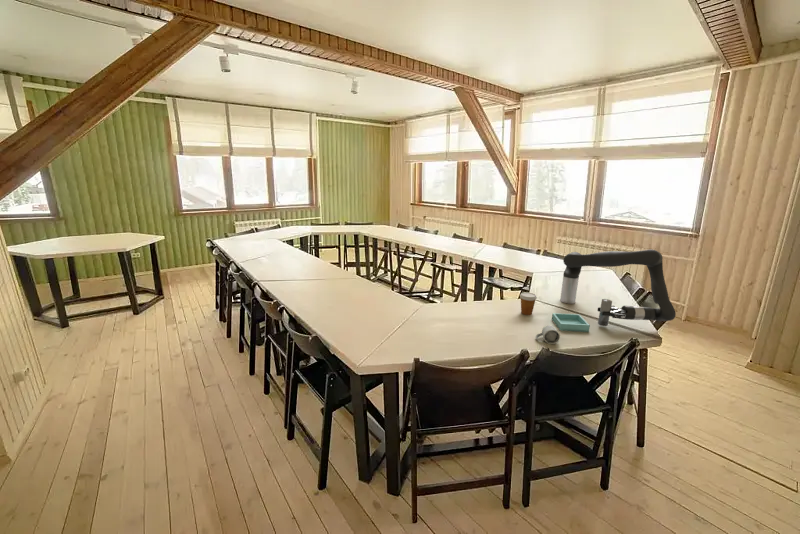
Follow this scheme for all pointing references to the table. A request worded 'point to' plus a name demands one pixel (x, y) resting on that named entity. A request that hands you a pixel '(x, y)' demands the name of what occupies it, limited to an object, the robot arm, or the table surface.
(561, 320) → the teal box
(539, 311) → the table surface
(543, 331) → the ceramic mug
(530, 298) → the disposable coffee cup
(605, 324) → the charcoal metal canister
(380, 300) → the table surface
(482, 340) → the table surface
